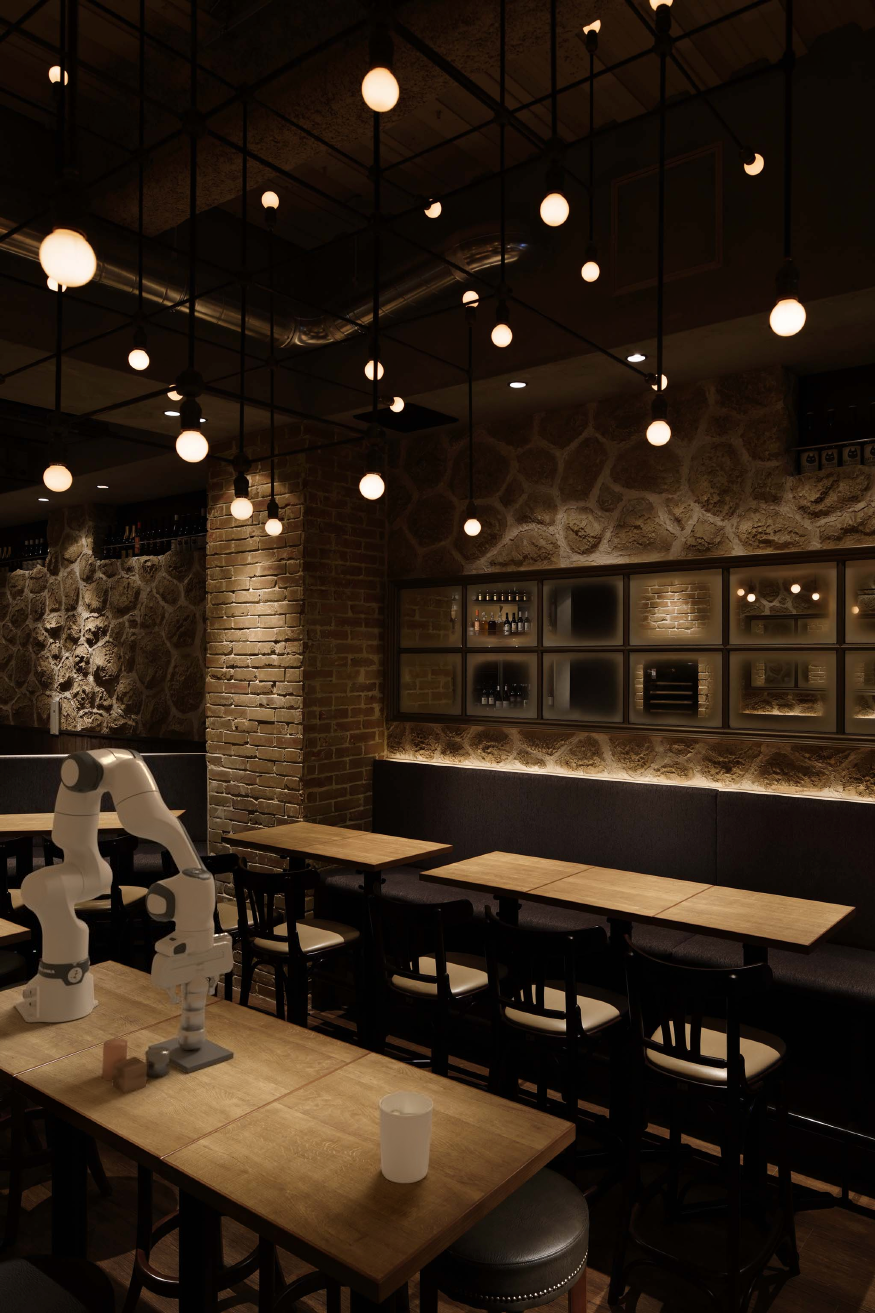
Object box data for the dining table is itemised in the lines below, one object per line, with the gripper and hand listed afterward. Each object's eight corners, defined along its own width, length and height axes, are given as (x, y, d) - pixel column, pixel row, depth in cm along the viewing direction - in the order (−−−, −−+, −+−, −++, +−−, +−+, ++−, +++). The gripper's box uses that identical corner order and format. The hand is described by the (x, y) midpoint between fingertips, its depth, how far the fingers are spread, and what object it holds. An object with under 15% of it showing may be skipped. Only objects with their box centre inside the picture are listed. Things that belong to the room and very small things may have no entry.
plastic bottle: (209, 1043, 212) (214, 959, 212) (199, 1055, 205) (205, 968, 205) (182, 1041, 212) (188, 956, 213) (172, 1052, 205) (178, 965, 206)
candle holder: (376, 1157, 164) (378, 1091, 164) (429, 1156, 165) (431, 1090, 165) (377, 1187, 154) (379, 1116, 155) (433, 1186, 155) (435, 1115, 155)
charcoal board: (148, 1051, 209) (148, 1046, 209) (192, 1037, 218) (193, 1032, 218) (188, 1073, 198) (188, 1068, 198) (233, 1057, 206) (233, 1052, 207)
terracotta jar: (98, 1075, 196) (99, 1042, 196) (119, 1068, 199) (121, 1037, 200) (108, 1082, 192) (109, 1049, 193) (130, 1075, 196) (131, 1043, 196)
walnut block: (112, 1087, 190) (113, 1063, 190) (133, 1080, 194) (134, 1056, 194) (124, 1094, 187) (125, 1070, 187) (145, 1087, 191) (146, 1063, 191)
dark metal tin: (141, 1073, 197) (142, 1050, 197) (163, 1067, 200) (163, 1045, 201) (151, 1081, 193) (151, 1057, 194) (172, 1074, 197) (173, 1051, 197)
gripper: (224, 928, 219) (222, 985, 218) (148, 945, 204) (146, 1006, 203) (239, 934, 214) (237, 992, 214) (163, 950, 199) (161, 1013, 199)
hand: (192, 999), depth 208 cm, fingers open, 8 cm apart
